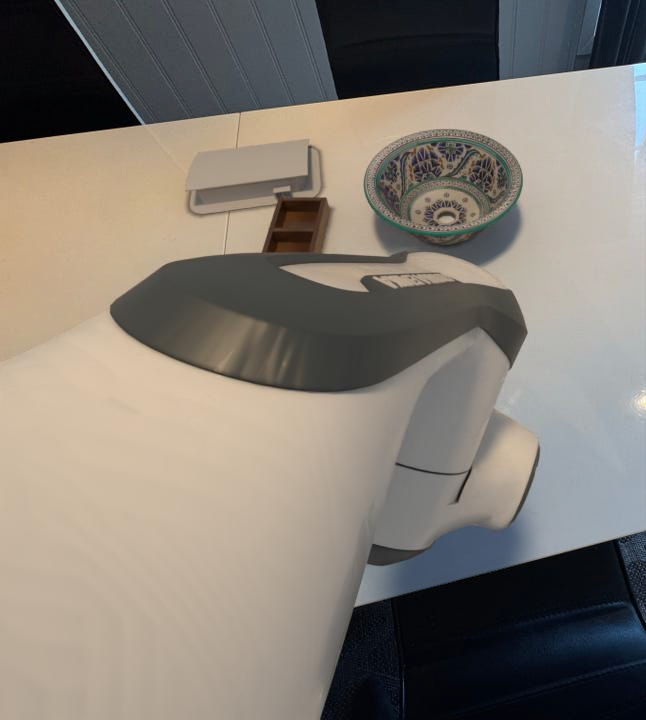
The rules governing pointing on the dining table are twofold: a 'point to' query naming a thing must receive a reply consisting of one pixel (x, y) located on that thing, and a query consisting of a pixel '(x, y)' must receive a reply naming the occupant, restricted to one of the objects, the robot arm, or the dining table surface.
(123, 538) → the robot arm
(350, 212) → the dining table surface
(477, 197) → the bowl
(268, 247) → the rack
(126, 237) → the dining table surface
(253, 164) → the grey hinged lid tray
